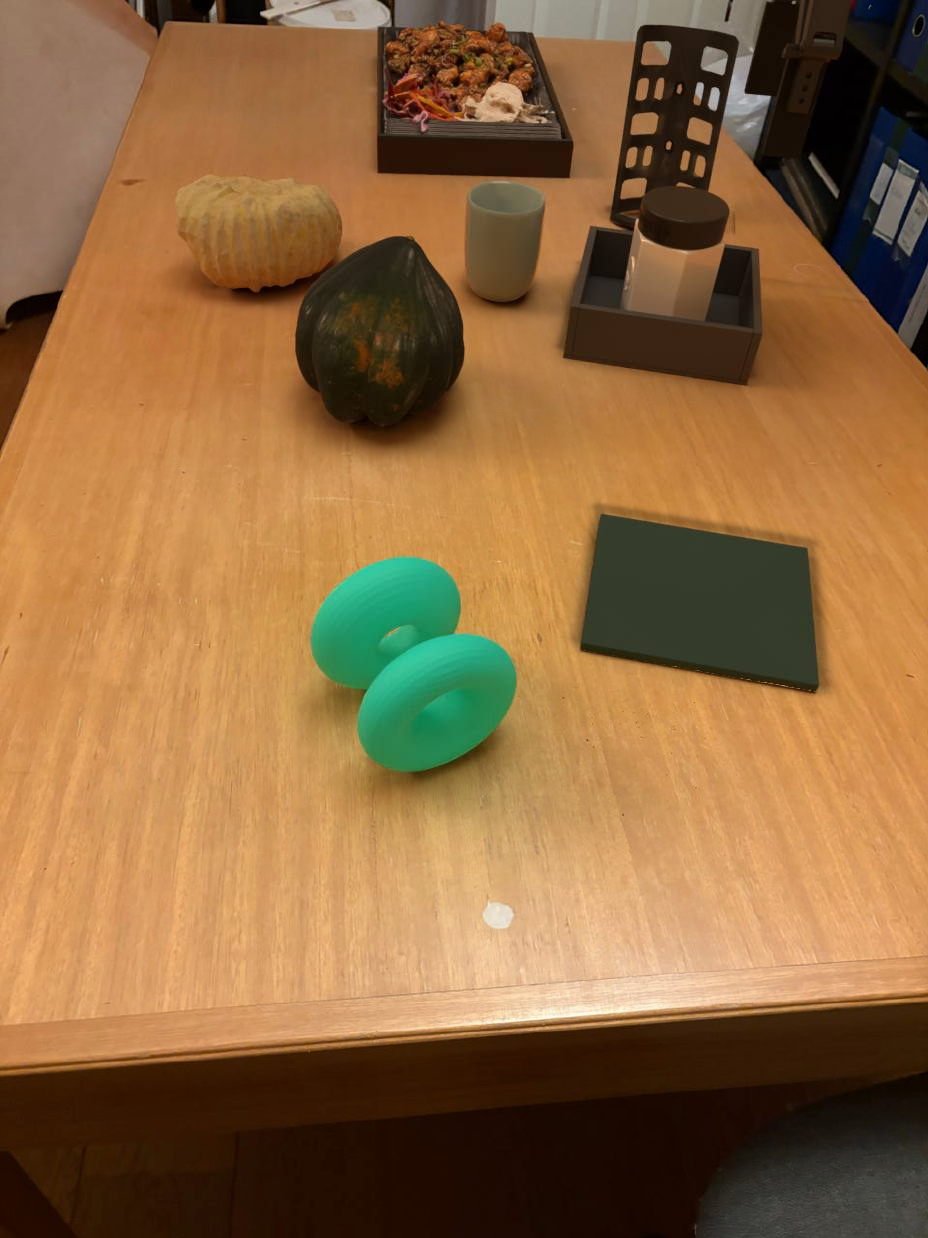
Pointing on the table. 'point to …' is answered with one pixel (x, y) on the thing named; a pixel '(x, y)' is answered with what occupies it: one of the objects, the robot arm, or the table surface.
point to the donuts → (412, 664)
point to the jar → (675, 252)
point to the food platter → (467, 104)
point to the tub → (665, 317)
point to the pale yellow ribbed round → (257, 229)
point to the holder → (673, 112)
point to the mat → (702, 602)
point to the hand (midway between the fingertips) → (769, 123)
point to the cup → (503, 238)
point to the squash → (380, 334)
